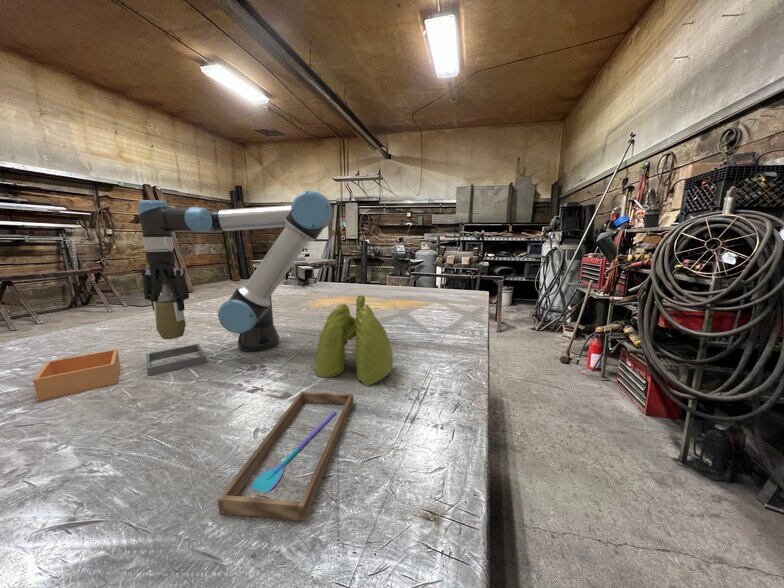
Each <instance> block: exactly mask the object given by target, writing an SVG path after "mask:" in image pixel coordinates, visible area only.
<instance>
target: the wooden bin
mask: <svg viewBox="0 0 784 588" xmlns="http://www.w3.org/2000/svg"><path fill="white" fill-rule="evenodd" d="M119 356H120V355H119V351H118V348H116V349H115V348H114V349H110V350H103V351H99V352H92V353H88V354H83V355H75V356H71V357H65V358H64V357H63V358H60V359H54V360H49V361H46V362H45V363H44V365H43V367H41V369H40V370H39V372H38V373H37V374H36V375H35V376H34V378H33V380H32V382H33V387H34V390H35V394H36V400H37V402H41V401H47V400H51V399H55V398H59V397H63V396H68V395H72V394H78V393H81V392H85V391H90V390H94V389H98V388H103V387H107V386H110V385H111V386H112V385H116V384H118V383H119V377H120V372H121V361H120V357H119Z"/></svg>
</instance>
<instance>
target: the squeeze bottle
mask: <svg viewBox="0 0 784 588" xmlns="http://www.w3.org/2000/svg"><path fill="white" fill-rule="evenodd" d="M158 301H160V302H158V303H157V304H156V317H155V322H156V324H155V325H156V328H155V329H156V331H157V332H158V334H159V336H160V337H161V339H163V340H173V339H179V338H181V337H183V336H184V335H185V331H186V326H187V324H186V318H185V319H184V320H181V321H177V319H176V315H175V310H174V303H173V302H174V301H175V298H174V296H173V294H172V292H171V290H170V288H169V286H168V284H167V283H166V284H162V287H161V294H160V296H158Z"/></svg>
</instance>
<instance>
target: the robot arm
mask: <svg viewBox="0 0 784 588" xmlns="http://www.w3.org/2000/svg"><path fill="white" fill-rule="evenodd" d="M137 206H138V207H137V208H138V209H137V210H138V218H139V223H140V228H141V233H142V242H143V250H144V251H145V253H144V255H145V260H146V264H148V265H149V267H148V268H146V269H141V270H140V273H141V276H142V283H143V294H144V299H145V300H149V301H150V303H151V306H152V310H153V311H154V316H155V318H156V304H157V303H158V302H160V301H159V300H158V296H161V294H162V288H163V282H164V283H166V284H167V285H168V287H169V290H170V292H171V294H173V296H174V298H175V301H174V302H173V303H174V310H175V315H176V319H177V321H181V320H184V319H185V320H186V318H185V313H184V311H185V309H186V308H185V300H187V299H190V295H189V290H188V286H187V282H186V281H187V280H186V277H185V276H186V270H185V269H184V268H181V269H180V268H177V267H176V265H175V263H176V262H177V261H176V260H177V259H176V255H175V254H176V253H175V251H174V241H173V233H175V232H178V233H179V232H181V233H185V232H186V233H191V232H193V233H210V234H211V233H212V234H214V233H215V234H216V233H218V232H230V231H231V232H232V231H241V230H242V231H243V230H244V231H245V230H257V229H258V230H259V229H271V228H272V229H273V228H283V229H282V231H281V233H280V234H279V236H278V237H277V239H276V240H275V241H274V242H273V244H272V246H271V247H270V249H269V250H268V251H267V252H266V254H265V255H264V257H263V259H262V260H261V262H260V263H259V264H258V266H257V267H256V269H255V270H254V272H253V273H252V275H251V276H250V278H249V279H248V281H247V282H246V283H245V284H241V285H238V286H237V288H236V289H235V290H234V292H233V293H232V295H231V296H230V298H229V299H228V300H226V301H224V302H223V303H222V304H221V306H220V307H219V309H218V312H217V317H218V318H217V319H218V320H219V323H220V325H221V326H222V327H223V328H224V329H225V330H226V331H228V332H230V333H233V334H239V335H238V339H237V349H238V350H240V351H242V352H261V351H265V350H269V349H272V348H276V347H277V346H278V345H279V344H280V342H281V341H280V336H279V333H278V332H277V331H278V330H277V329H276V326H275V325H274V315H273V304H272V303H273V301H272V297H273V296H272V294H273V293H274V292H275V291H276V289H277V287H278V286H279V284H280V283H281V281H283V279H284V277H285V276H286V275H287V273H289V270H290V269H291V267H292V266H293V265H294V263H295V261H297V259H298V257H299V256H300V254H302V251H304V250H305V247H306V246H307V245H308V243H309V242H315V241H317V239H318V237H319V236H320V234H321V233H322V231H323V230H324V229H325V228H327V227H328V226H329V225H330V224H331V223H332V221H333V220H334V208H333V206H332V203H331V202H330V201H329V199H328V198H327V197H326V196H325V195H323V194H322V193H321V192H317V191H314V190H307V191H302V192H300V193H299V194H298V195H296V197H295V198H294V199H293V201H292V203H291V204H290V205H289V204H287V205H275V206H274V205H273V206H260V207H259V206H258V207H257V206H256V207H244V208H243V207H242V208H231V209H230V208H228V209H214V210H213V209H212V210H208V209H207V208H205V207H197V206H191V207H170V206H169V205H168V203H167V202H166V201H164V200H158V199H157V200H155V199H154V200H153V199H152V200H150V199H143V200H140V201H138V202H137Z"/></svg>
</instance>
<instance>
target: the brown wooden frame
mask: <svg viewBox="0 0 784 588" xmlns="http://www.w3.org/2000/svg"><path fill="white" fill-rule="evenodd" d="M305 403H308V404H309V403H310V404H313V403H314V404H328V405H330V404H331V405H344V406H343V408H342V411H341V412H340V414H339V417H338V418H337V421H336V423H335V426H334V427H333V430H332V432H331V434H330V436H329V439H328V440H327V443H326V445H325V447H324V448H323V452H322V454H321V456H320V458H319V460H318V462H317V464H316V467H315V469H314V471H313V473H312V476H311V478H310V480H309V482H308V483H307V486H306V488H305V491H304V492H303V494H302V497H301V499H300V500H288V499H275V498H265V497H264V498H262V497H251V496H250V497H249V496H240V492H241V491H242V490H243V488H244V487H245V485H246V484H247V483H248V481H249V480H250V478H251V477H252V475H253V474H254V473H255V471H257V468H259V465H260V464H261V463H262V461H263V460H264V459H265V458H266V456H268V455H267V454H268V453H270V451H271V449H272V448H273V446H274V445H275V444H276V442H277V440H278V439H279V438H280V436H281V435H282V434H283V433H284V431H285V429H286V428H287V426H288V425H289V424H290V423H291V421H292V420H293V418H294V417H295V415H296V414H297V413H298V411H299V410H300V408H302V406H303V405H304V404H305ZM353 405H354V394H353V393H337V392H336V393H335V392H313V391H310V392H309V391H300V393H299V394H298V395H297V397H296V398H295V400H294V401H293V402H292V403H291V404H290V406H289V407H288V408H287V409H286V411H285V412H284V414H283V415H282V416H281V417H280V418H279V420H278V421H277V422H276V423H275V425H274V426H273V427H272V429H271V430H270V432H269V433H268V434H267V435H266V436H265V438H264V439H263V441H261V442H260V444H259V445H258V447H257V448H256V449H255V450H254V451H253V453H252V454H251V455H250V457H249V458H248V460H247V461H246V462H245V463H244V464H243V466H241V468H240V470H239V471H238V472H237V473H236V475H235V476H234V477H233V479H232V480H231V481H230V483H229V484H228V485H227V486H226V488H225V489H224V490H223V491H222V493H221V494H220V495H219V497H218V498H217V505H218V513H219V514H226V515H236V516H237V515H239V516H248V517H249V516H250V517H260V518H270V519H271V518H272V519H282V520H292V521H294V520H295V521H305V520H306V518H307V516H308V512H309V511H310V508H311V506H312V503H313V501H314V499H315V497H316V494H317V492H318V490H319V487H320V484H321V482H322V479H323V477H324V474H325V472H326V469H327V468H328V464H329V463H330V461H331V458H332V456H333V453H334V450H335V448H336V446H337V443H338V441H339V438H340V436H341V434H342V431H343V429H344V427H345V425H346V421H347V420H348V416H349V414H350V412H351V409H352V407H353ZM238 495H239V496H238Z"/></svg>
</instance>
